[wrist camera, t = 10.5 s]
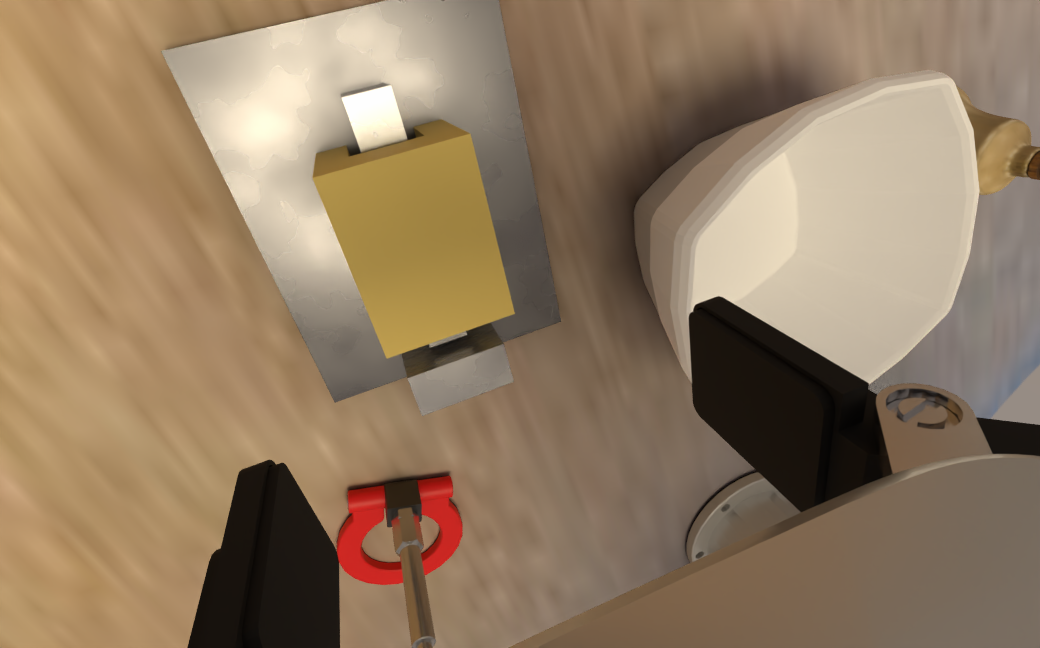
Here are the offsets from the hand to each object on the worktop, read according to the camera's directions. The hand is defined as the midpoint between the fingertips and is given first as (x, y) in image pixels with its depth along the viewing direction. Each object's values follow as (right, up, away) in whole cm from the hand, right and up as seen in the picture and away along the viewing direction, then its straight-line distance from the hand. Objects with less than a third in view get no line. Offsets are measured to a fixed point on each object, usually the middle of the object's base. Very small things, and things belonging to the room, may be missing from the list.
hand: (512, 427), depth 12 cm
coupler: (-6, +8, +15) cm, 18 cm away
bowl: (+13, +8, +22) cm, 27 cm away
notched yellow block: (-6, +8, +15) cm, 18 cm away
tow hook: (-8, -12, +25) cm, 29 cm away
